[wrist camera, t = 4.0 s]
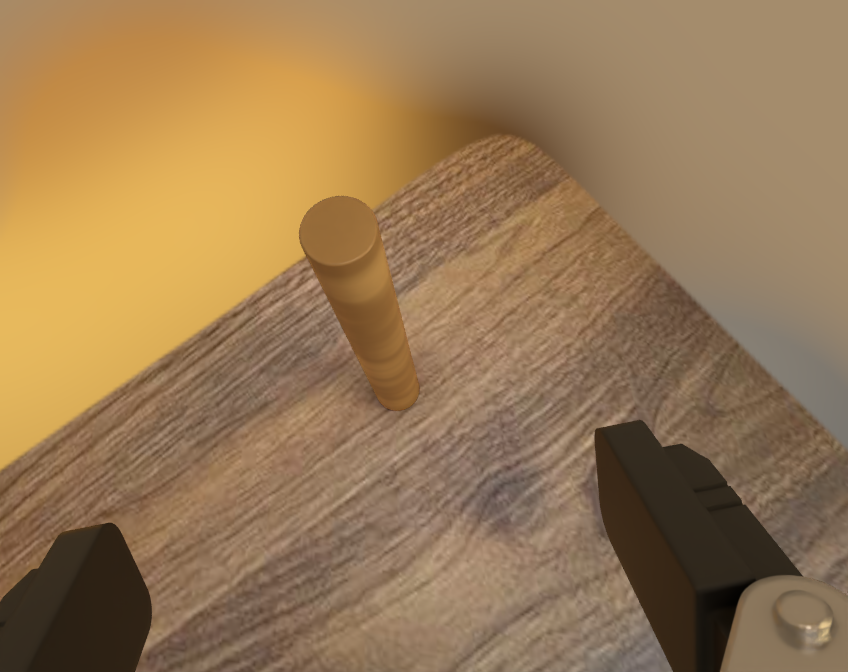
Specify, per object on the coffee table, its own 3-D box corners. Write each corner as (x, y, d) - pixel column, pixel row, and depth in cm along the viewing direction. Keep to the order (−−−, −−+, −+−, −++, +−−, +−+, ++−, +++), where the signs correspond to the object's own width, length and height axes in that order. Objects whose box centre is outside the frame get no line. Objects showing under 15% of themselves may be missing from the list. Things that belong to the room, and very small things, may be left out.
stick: (415, 365, 31) (371, 188, 17) (423, 406, 31) (383, 257, 17) (372, 373, 31) (294, 202, 17) (379, 415, 31) (303, 272, 17)
